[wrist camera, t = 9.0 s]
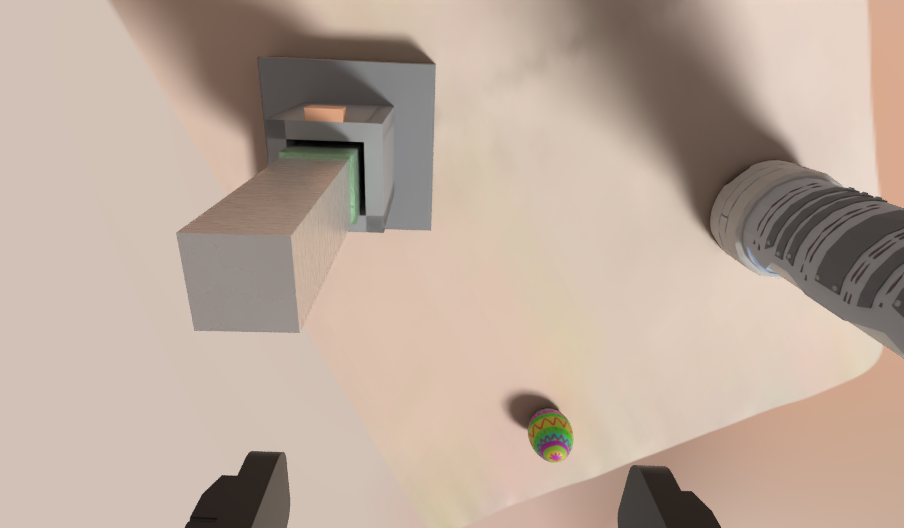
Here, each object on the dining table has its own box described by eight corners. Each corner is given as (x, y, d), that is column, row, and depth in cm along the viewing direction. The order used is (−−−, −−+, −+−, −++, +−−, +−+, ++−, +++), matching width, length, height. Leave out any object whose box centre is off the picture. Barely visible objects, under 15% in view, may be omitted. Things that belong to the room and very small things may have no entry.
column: (304, 134, 36) (169, 227, 18) (366, 136, 36) (295, 231, 18) (309, 194, 38) (189, 334, 19) (368, 196, 38) (305, 337, 20)
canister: (688, 207, 49) (1014, 415, 21) (782, 136, 46) (1287, 269, 19) (739, 276, 52) (1079, 535, 25) (829, 213, 50) (1320, 424, 22)
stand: (269, 56, 42) (203, 60, 31) (435, 63, 43) (435, 71, 31) (284, 215, 48) (233, 271, 36) (431, 219, 49) (429, 276, 37)
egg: (538, 442, 60) (549, 482, 55) (517, 415, 58) (525, 454, 53) (574, 422, 59) (588, 461, 54) (553, 395, 57) (565, 432, 52)
